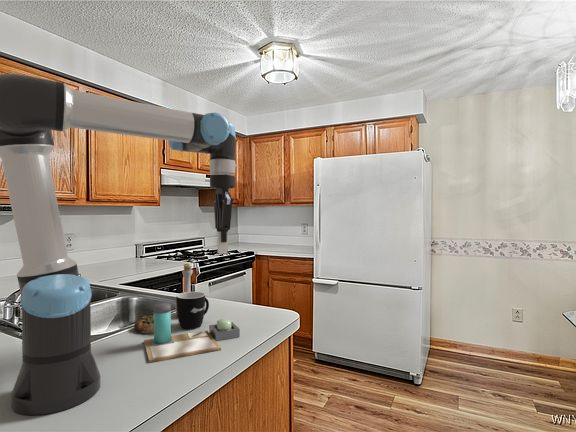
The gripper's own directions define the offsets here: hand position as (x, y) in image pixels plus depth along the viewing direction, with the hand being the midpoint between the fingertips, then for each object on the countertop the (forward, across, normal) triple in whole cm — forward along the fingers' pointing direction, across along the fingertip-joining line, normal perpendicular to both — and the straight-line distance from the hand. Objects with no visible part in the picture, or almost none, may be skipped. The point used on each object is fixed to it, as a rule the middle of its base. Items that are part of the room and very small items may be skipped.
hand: (222, 252), depth 108 cm
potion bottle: (+25, +23, +6) cm, 34 cm away
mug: (+25, +11, +6) cm, 28 cm away
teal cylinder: (+24, -1, +17) cm, 29 cm away
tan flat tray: (+24, -5, +13) cm, 28 cm away
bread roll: (+25, +14, +18) cm, 34 cm away
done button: (+24, -2, 0) cm, 24 cm away
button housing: (+24, -2, 0) cm, 24 cm away
